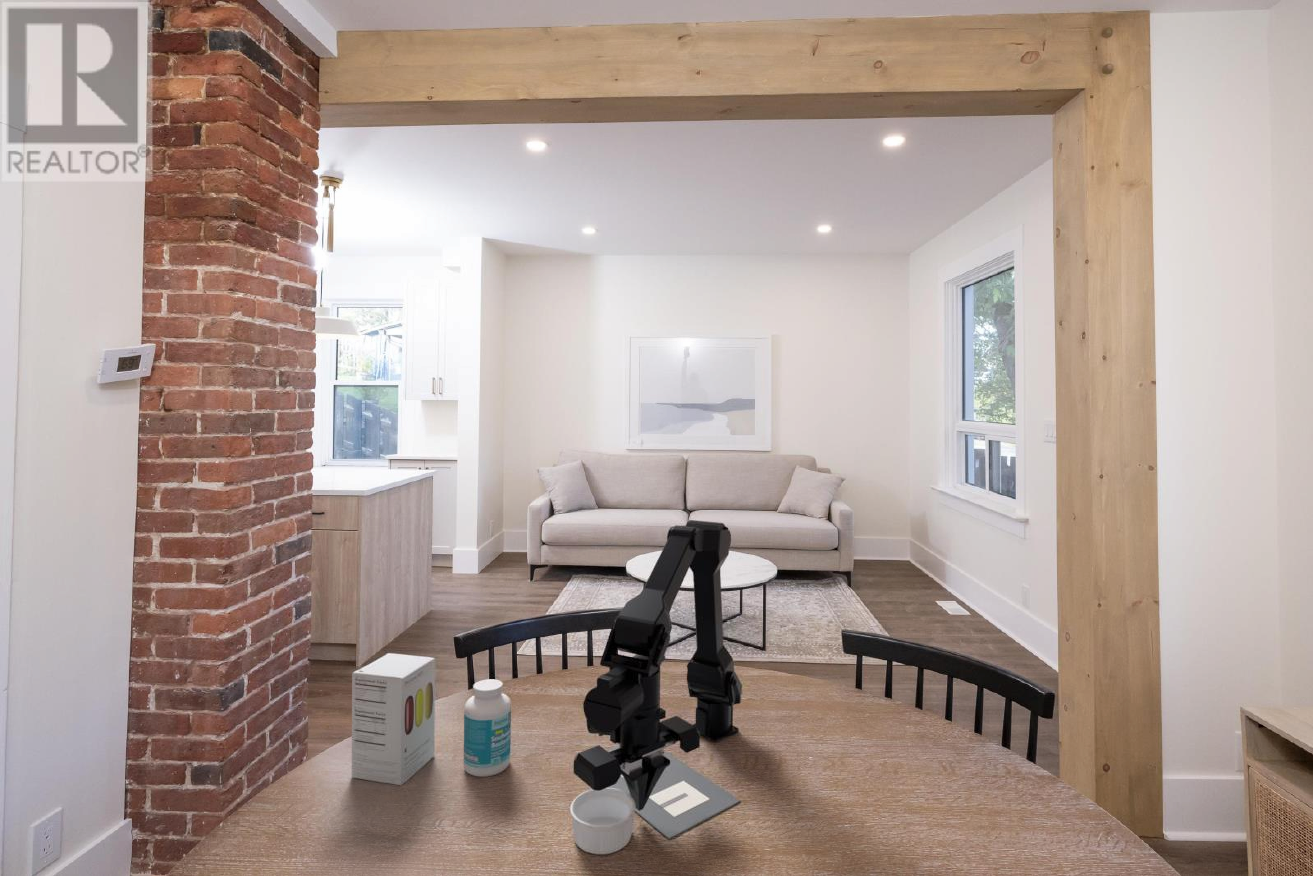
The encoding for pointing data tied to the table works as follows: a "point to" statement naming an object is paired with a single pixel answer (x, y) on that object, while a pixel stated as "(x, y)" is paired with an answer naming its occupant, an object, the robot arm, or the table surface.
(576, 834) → the ramekin
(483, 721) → the pill bottle
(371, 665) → the supplement box
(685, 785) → the slate mat
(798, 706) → the table surface
